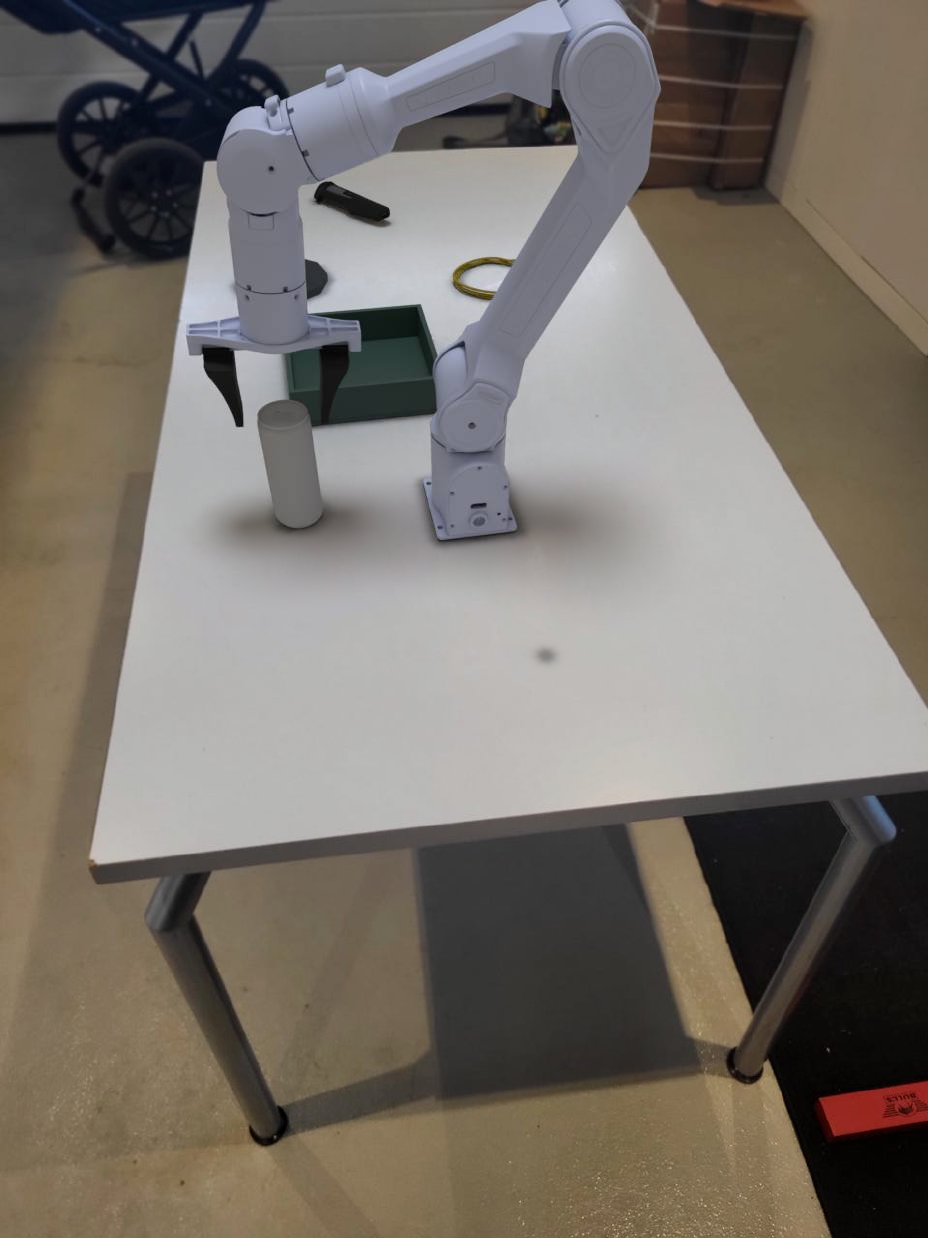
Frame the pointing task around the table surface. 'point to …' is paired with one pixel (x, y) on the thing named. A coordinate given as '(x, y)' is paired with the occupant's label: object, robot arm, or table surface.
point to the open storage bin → (373, 368)
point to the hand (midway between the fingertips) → (282, 419)
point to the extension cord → (468, 265)
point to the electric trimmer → (351, 201)
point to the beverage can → (290, 462)
